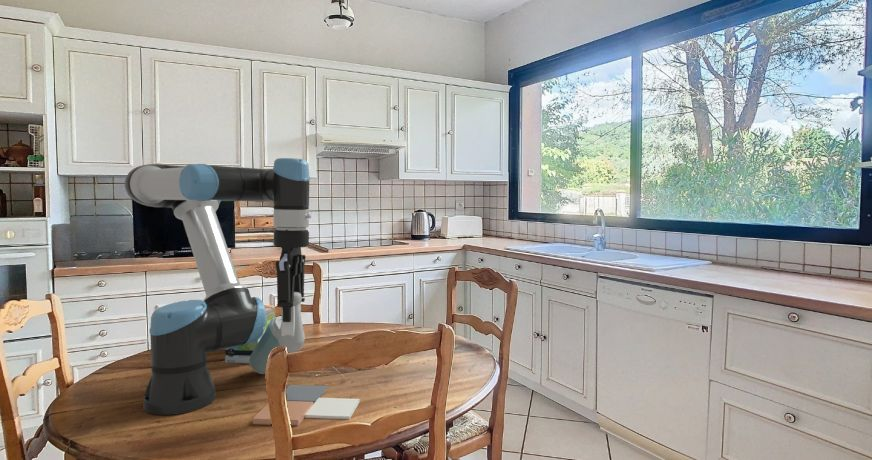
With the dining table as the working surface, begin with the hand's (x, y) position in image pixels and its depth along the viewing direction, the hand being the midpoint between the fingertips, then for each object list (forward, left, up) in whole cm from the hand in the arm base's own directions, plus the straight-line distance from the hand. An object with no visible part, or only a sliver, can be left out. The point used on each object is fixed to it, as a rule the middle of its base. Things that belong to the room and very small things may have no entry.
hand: (291, 333), depth 111 cm
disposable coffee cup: (-17, +23, -15) cm, 33 cm away
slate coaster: (-1, +11, -19) cm, 22 cm away
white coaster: (+9, +3, -19) cm, 21 cm away
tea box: (-26, +38, -18) cm, 49 cm away
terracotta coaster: (-1, -1, -18) cm, 18 cm away
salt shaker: (0, 0, -4) cm, 4 cm away
